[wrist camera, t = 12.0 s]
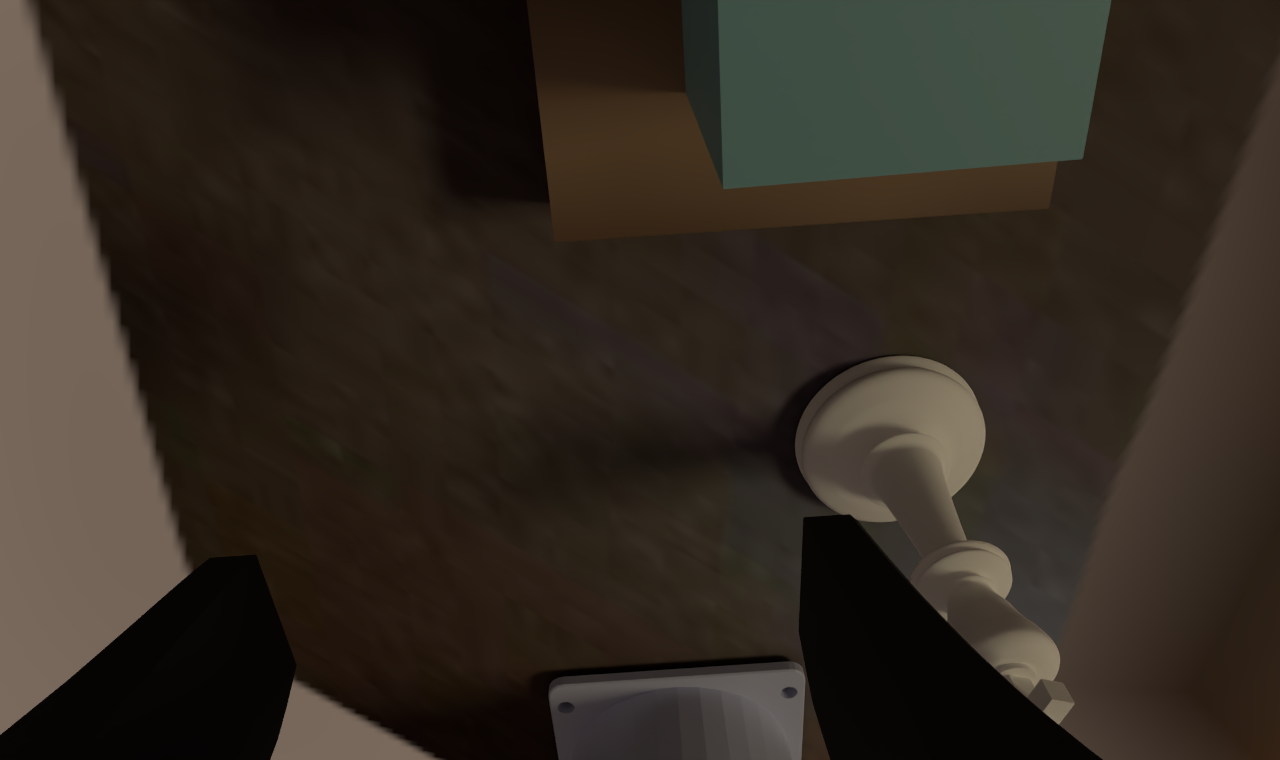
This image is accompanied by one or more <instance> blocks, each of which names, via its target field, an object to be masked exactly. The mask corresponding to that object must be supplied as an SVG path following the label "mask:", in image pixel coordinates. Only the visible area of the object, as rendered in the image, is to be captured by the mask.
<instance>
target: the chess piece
mask: <svg viewBox="0 0 1280 760" xmlns="http://www.w3.org/2000/svg"><path fill="white" fill-rule="evenodd" d="M984 444H985V423H984V418H983V415H982V412H981V409H980V407H979V405H978V403H977V400H976V397H975V395H974V393H973V391H972V390H971V388H970V387H969V385H968V384H967V383H966V381H965V380H964V379H963V378H962V377H961V376H960V375H958V374H957V373H956V372H955V371H953V370H952V369H950V368H949V367H947V366H945V365H943V364H941V363H939V362H936V361H933V360H930V359H926V358H922V357H916V356H889V357H882V358H877V359H873V360H870V361H867V362H864V363H861V364H859V365H856V366H854V367H852V368H850V369H848V370H846V371H844V372H842V373H841V374H839V375H838V376H836V377H835V378H833V379H832V380H831V381H829V382H828V383H827V384H826V385H825V386H824V387H823V388H821V390H820V391H819V392H818V393H817V394H816V395H815V396H814V397H813V399H812V400H811V401H810V403H809V404H808V406H807V407H806V409H805V411H804V413H803V415H802V417H801V419H800V422H799V425H798V428H797V432H796V438H795V454H796V459H797V463H798V466H799V469H800V471H801V473H802V475H803V477H804V478H805V480H806V481H807V483H808V485H809V486H810V488H811V490H812V491H813V492H814V494H815V495H816V496H817V497H818V498H819V499H820V500H821V501H822V502H823V503H824V504H825V505H826V506H828V507H829V508H831V509H832V510H834V511H836V512H838V513H840V514H842V515H847V514H850V515H852V516H853V517H854V518H855V519H857V520H862V521H868V522H891V521H898V523H899V524H900V526H901V527H902V529H903V530H904V531H905V533H906V534H907V536H908V537H909V539H910V540H911V542H912V543H913V545H914V546H915V548H916V549H917V551H918V553H919V554H920V556H921V558H922V560H921V561H920V562H919V563H918V564H917V566H916V567H915V569H914V570H913V572H912V575H911V578H910V583H911V584H912V585H913V586H914V587H915V588H916V589H917V590H918V591H919V592H920V594H921V595H922V596H923V597H924V598H925V599H926V600H927V601H928V602H929V603H930V604H931V605H932V606H933V607H934V608H935V609H936V610H937V611H938V613H939V614H940V615H941V616H942V617H943V618H944V619H945V620H946V621H947V622H948V623H949V624H950V625H951V626H952V627H953V628H954V629H955V630H956V631H957V632H958V633H959V634H960V635H961V636H962V637H963V638H964V639H965V640H966V641H967V642H968V643H969V644H970V645H971V646H972V647H973V648H974V649H975V650H976V651H977V652H978V653H979V654H980V655H981V656H982V657H983V658H984V659H985V660H986V661H987V662H989V663H990V664H991V665H992V666H993V667H994V668H995V669H996V670H997V671H998V672H999V673H1000V674H1001V675H1002V676H1004V677H1005V678H1006V679H1007V680H1008V681H1009V682H1010V683H1011V684H1012V685H1013V686H1014V687H1015V688H1017V689H1018V690H1019V691H1020V692H1021V693H1022V694H1023V695H1024V696H1026V697H1027V698H1028V699H1029V700H1030V701H1031V702H1032V703H1034V704H1035V705H1036V706H1037V707H1038V708H1039V709H1041V710H1042V711H1043V712H1044V713H1045V714H1046V715H1048V716H1049V717H1050V718H1051V719H1052V720H1054V721H1055V722H1056V723H1057V724H1058V725H1059V724H1060V722H1061V721H1062V720H1063V718H1064V717H1065V716H1066V714H1067V713H1068V712H1069V711H1070V709H1071V708H1072V707H1073V705H1074V704H1075V703H1074V701H1073V699H1072V698H1071V696H1070V694H1069V692H1068V691H1067V689H1066V687H1065V685H1064V684H1063V683H1061V682H1055V681H1053V680H1054V678H1055V677H1056V675H1057V672H1058V669H1059V665H1060V655H1059V651H1058V649H1057V647H1056V645H1055V643H1054V642H1053V641H1052V639H1051V638H1050V637H1049V636H1048V635H1047V634H1046V633H1045V632H1044V631H1043V630H1041V629H1040V628H1039V627H1038V626H1037V625H1036V624H1034V623H1033V622H1032V621H1030V620H1028V619H1026V618H1025V617H1024V616H1023V615H1021V614H1020V613H1019V612H1018V611H1017V610H1016V609H1015V608H1014V607H1013V606H1012V605H1011V604H1010V603H1009V602H1008V601H1006V600H1005V598H1006V596H1007V595H1008V593H1009V591H1010V588H1011V585H1012V573H1011V566H1010V562H1009V560H1008V558H1007V556H1006V555H1005V554H1004V553H1003V551H1001V550H1000V549H999V548H997V547H996V546H994V545H992V544H990V543H987V542H983V541H977V540H967V539H966V537H965V534H964V532H963V529H962V527H961V524H960V521H959V518H958V515H957V513H956V510H955V507H954V504H953V501H952V498H951V497H952V496H953V495H954V494H955V493H956V492H958V491H959V490H960V489H961V488H962V487H963V485H964V484H965V483H966V482H967V481H968V479H969V478H970V477H971V475H972V474H973V472H974V471H975V469H976V467H977V465H978V463H979V461H980V458H981V456H982V453H983V449H984Z"/></svg>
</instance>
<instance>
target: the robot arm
mask: <svg viewBox="0 0 1280 760" xmlns="http://www.w3.org/2000/svg"><path fill="white" fill-rule="evenodd" d="M799 635H800V640H801V646H802V651H803V656H804V661H805V667H806V672H807V677H808V682H809V687H810V692H811V696H812V701H813V705H814V709H815V712H816V715H817V718H818V722H819V725H820V728H821V731H822V734H823V738H824V741H825V744H826V747H827V750H828V754H829V757H830V760H1103V759H1101V758H1100V757H1099V756H1097V755H1096V754H1095V753H1093V752H1092V751H1090V750H1089V749H1088V748H1087V747H1086V746H1084V745H1083V744H1082V743H1081V742H1079V741H1078V740H1077V739H1075V738H1074V737H1073V736H1072V735H1071V734H1069V733H1068V732H1067V731H1066V730H1065V729H1063V728H1062V727H1061V726H1060V725H1058V724H1057V723H1056V722H1055V721H1054V720H1052V719H1051V718H1050V717H1049V716H1048V715H1046V714H1045V713H1044V712H1043V711H1042V710H1041V709H1039V708H1038V707H1037V706H1036V705H1035V704H1034V703H1032V702H1031V701H1030V700H1029V699H1028V698H1027V697H1026V696H1024V695H1023V694H1022V693H1021V692H1020V691H1019V690H1018V689H1017V688H1015V687H1014V686H1013V685H1012V684H1011V683H1010V682H1009V681H1008V680H1007V679H1006V678H1005V677H1004V676H1002V675H1001V674H1000V673H999V672H998V671H997V670H996V669H995V668H994V667H993V666H992V665H991V664H990V663H989V662H987V661H986V660H985V659H984V658H983V657H982V656H981V655H980V654H979V653H978V652H977V651H976V650H975V649H974V648H973V647H972V646H971V645H970V644H969V643H968V642H967V641H966V640H965V639H964V638H963V637H962V636H961V635H960V634H959V633H958V632H957V631H956V630H955V629H954V628H953V627H952V626H951V625H950V624H949V623H948V622H947V621H946V620H945V619H944V618H943V617H942V616H941V615H940V614H939V613H938V611H937V610H936V609H935V608H934V607H933V606H932V605H931V604H930V603H929V602H928V601H927V600H926V599H925V598H924V597H923V596H922V595H921V594H920V592H919V591H918V590H917V589H916V588H915V587H914V586H913V585H912V584H911V583H910V581H909V580H908V579H907V578H906V577H905V576H904V575H903V574H902V572H901V571H900V570H899V569H898V568H897V567H896V566H895V565H894V563H893V562H892V561H891V560H890V559H889V558H888V556H887V555H886V554H885V553H884V552H883V551H882V549H881V548H880V547H879V546H878V545H877V544H876V542H875V541H874V540H873V539H872V538H871V536H870V535H869V534H868V533H867V532H866V530H865V529H864V528H863V527H862V526H861V524H860V523H859V522H858V521H857V520H856V519H855V518H854V517H853V516H852V515H850V514H847V515H832V516H817V517H804V519H803V543H802V566H801V590H800V613H799ZM295 669H296V662H295V660H294V657H293V654H292V651H291V649H290V646H289V643H288V641H287V638H286V635H285V632H284V630H283V627H282V624H281V621H280V619H279V616H278V613H277V611H276V608H275V605H274V602H273V600H272V597H271V594H270V591H269V589H268V586H267V583H266V581H265V578H264V575H263V572H262V570H261V567H260V564H259V561H258V559H257V556H256V555H246V556H231V557H216V558H209V559H208V560H207V561H206V562H204V563H203V564H202V565H201V566H199V567H198V568H197V569H196V570H194V571H193V572H192V573H191V574H190V575H188V576H187V577H186V578H185V579H184V580H182V581H181V582H180V583H179V584H178V585H177V586H176V587H174V588H173V589H172V590H171V591H170V592H169V593H168V594H166V595H165V596H164V597H163V598H162V599H161V600H159V601H158V602H157V603H156V604H155V605H154V606H153V607H152V608H150V609H149V610H148V611H147V612H146V613H145V614H144V615H142V616H141V617H140V618H139V619H138V620H137V621H136V622H135V623H133V624H132V625H131V626H130V627H129V628H128V629H127V630H125V631H124V632H123V633H122V634H121V635H120V636H119V637H117V638H116V639H115V640H114V641H113V642H111V643H110V644H109V645H108V646H107V647H106V648H105V649H103V650H102V651H101V652H100V653H99V654H98V655H97V656H95V657H94V658H93V659H92V660H91V661H90V662H89V663H87V664H86V665H85V666H84V667H83V668H81V669H80V670H79V671H78V672H77V673H76V674H75V675H73V676H72V677H71V678H70V679H69V680H67V682H65V683H64V684H63V685H61V686H60V687H59V688H58V689H56V690H55V691H54V692H53V693H52V694H50V695H49V696H48V697H47V698H45V699H44V700H43V701H42V702H40V703H39V704H38V705H37V706H36V707H34V708H33V709H32V710H31V711H29V712H28V713H27V714H26V715H24V716H23V717H22V718H21V719H20V720H18V721H17V722H16V723H14V725H12V726H11V727H10V728H8V729H7V730H6V731H5V732H3V733H2V734H1V735H0V760H270V759H271V756H272V753H273V751H274V748H275V745H276V743H277V740H278V736H279V733H280V729H281V725H282V722H283V718H284V714H285V711H286V707H287V703H288V698H289V695H290V690H291V686H292V682H293V678H294V673H295ZM787 687H790V688H787ZM804 695H805V676H804V672H803V668H802V667H801V666H800V665H799V664H798V663H795V662H788V661H786V662H772V663H757V664H742V665H727V666H713V667H698V668H683V669H669V670H654V671H639V672H624V673H610V674H595V675H580V676H565V677H559V678H556V679H555V680H553V681H552V682H551V683H550V685H549V695H548V697H549V703H550V709H551V716H552V722H553V728H554V734H555V740H556V746H557V752H558V758H559V760H801V755H802V735H803V715H804ZM563 702H569V703H563Z"/></svg>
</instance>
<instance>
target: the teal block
mask: <svg viewBox="0 0 1280 760" xmlns="http://www.w3.org/2000/svg"><path fill="white" fill-rule="evenodd" d="M1110 4H1111V0H681V5H682V26H683V47H684V68H685V89H686V95H687V97H688V100H689V102H690V105H691V108H692V110H693V113H694V115H695V118H696V120H697V123H698V126H699V128H700V131H701V133H702V136H703V138H704V141H705V144H706V146H707V149H708V151H709V154H710V156H711V159H712V162H713V164H714V167H715V169H716V172H717V175H718V177H719V180H720V182H721V185H722V187H723V189H732V188H744V187H756V186H767V185H779V184H791V183H803V182H815V181H827V180H839V179H851V178H862V177H874V176H886V175H898V174H910V173H922V172H934V171H946V170H957V169H969V168H981V167H993V166H1005V165H1017V164H1029V163H1041V162H1052V161H1064V160H1076V159H1083V154H1084V149H1085V143H1086V138H1087V132H1088V127H1089V121H1090V115H1091V110H1092V104H1093V99H1094V93H1095V88H1096V82H1097V76H1098V71H1099V65H1100V60H1101V54H1102V49H1103V43H1104V38H1105V32H1106V26H1107V21H1108V15H1109V10H1110Z"/></svg>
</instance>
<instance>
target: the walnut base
mask: <svg viewBox="0 0 1280 760" xmlns="http://www.w3.org/2000/svg"><path fill="white" fill-rule="evenodd" d="M527 8H528V17H529V25H530V34H531V43H532V51H533V60H534V69H535V77H536V86H537V95H538V103H539V112H540V120H541V129H542V138H543V146H544V155H545V164H546V172H547V181H548V190H549V198H550V207H551V216H552V224H553V233H554V242H569V241H584V240H598V239H613V238H627V237H642V236H656V235H671V234H685V233H700V232H715V231H729V230H744V229H758V228H773V227H787V226H802V225H816V224H831V223H845V222H860V221H874V220H889V219H903V218H918V217H932V216H947V215H962V214H976V213H991V212H1005V211H1020V210H1034V209H1049V206H1050V200H1051V195H1052V189H1053V184H1054V178H1055V173H1056V167H1057V162H1058V161H1052V162H1041V163H1029V164H1017V165H1005V166H993V167H981V168H969V169H957V170H946V171H934V172H922V173H910V174H898V175H886V176H874V177H862V178H851V179H839V180H827V181H815V182H803V183H791V184H779V185H767V186H756V187H744V188H732V189H723V187H722V185H721V182H720V180H719V177H718V175H717V172H716V169H715V167H714V164H713V162H712V159H711V156H710V154H709V151H708V149H707V146H706V144H705V141H704V138H703V136H702V133H701V131H700V128H699V126H698V123H697V120H696V118H695V115H694V113H693V110H692V108H691V105H690V102H689V100H688V97H687V95H686V89H685V68H684V47H683V26H682V5H681V0H527Z"/></svg>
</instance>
